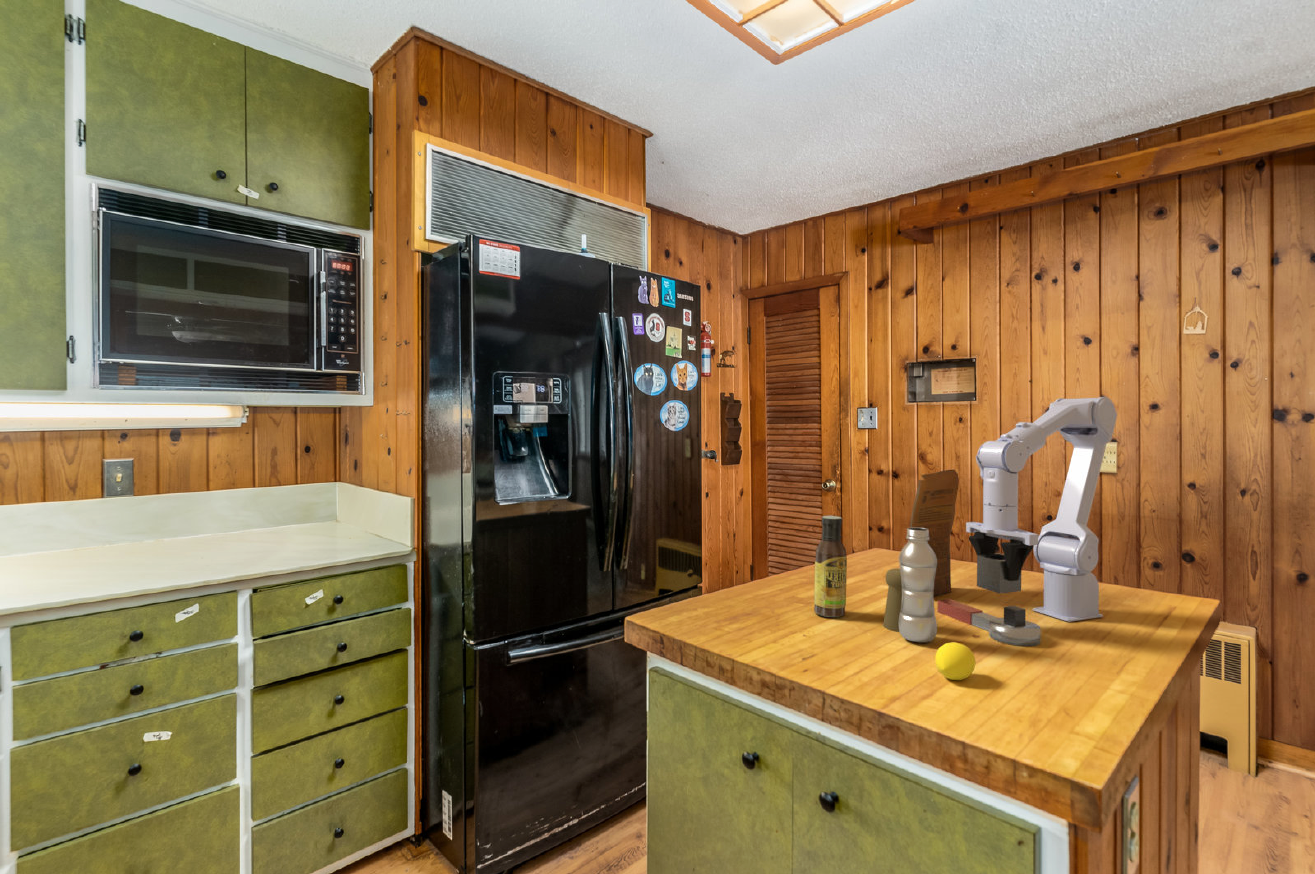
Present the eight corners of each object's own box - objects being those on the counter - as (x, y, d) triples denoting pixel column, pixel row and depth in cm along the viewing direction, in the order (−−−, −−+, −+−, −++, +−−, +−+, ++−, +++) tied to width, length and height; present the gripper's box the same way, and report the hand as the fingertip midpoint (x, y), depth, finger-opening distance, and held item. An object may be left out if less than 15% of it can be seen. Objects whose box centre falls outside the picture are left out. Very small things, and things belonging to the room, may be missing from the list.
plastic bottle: (935, 635, 113) (935, 526, 113) (939, 648, 107) (939, 533, 106) (897, 632, 115) (897, 525, 115) (898, 644, 109) (899, 531, 108)
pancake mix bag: (969, 590, 143) (969, 469, 142) (920, 604, 132) (921, 473, 132) (941, 584, 149) (942, 467, 148) (892, 597, 138) (893, 471, 137)
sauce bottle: (827, 620, 122) (827, 520, 122) (807, 611, 128) (807, 515, 127) (853, 616, 125) (853, 518, 124) (833, 608, 130) (833, 513, 130)
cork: (920, 633, 115) (920, 574, 114) (885, 631, 116) (885, 572, 116) (913, 622, 121) (913, 566, 120) (880, 620, 122) (880, 565, 122)
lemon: (962, 692, 91) (960, 657, 90) (927, 680, 95) (925, 647, 95) (985, 674, 95) (983, 640, 94) (950, 663, 99) (948, 631, 99)
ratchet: (958, 609, 129) (958, 582, 129) (1051, 643, 109) (1051, 612, 109) (927, 613, 126) (927, 586, 126) (1016, 648, 107) (1016, 616, 106)
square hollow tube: (997, 583, 120) (998, 552, 120) (1021, 590, 115) (1021, 558, 115) (976, 586, 119) (977, 555, 118) (999, 593, 114) (1000, 561, 113)
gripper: (953, 500, 122) (953, 569, 123) (1016, 510, 108) (1016, 587, 109) (982, 499, 124) (981, 566, 125) (1047, 508, 111) (1046, 584, 111)
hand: (999, 576), depth 117 cm, fingers closed on square hollow tube, 5 cm apart
